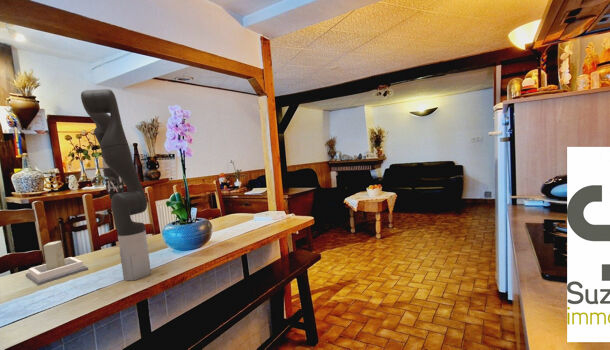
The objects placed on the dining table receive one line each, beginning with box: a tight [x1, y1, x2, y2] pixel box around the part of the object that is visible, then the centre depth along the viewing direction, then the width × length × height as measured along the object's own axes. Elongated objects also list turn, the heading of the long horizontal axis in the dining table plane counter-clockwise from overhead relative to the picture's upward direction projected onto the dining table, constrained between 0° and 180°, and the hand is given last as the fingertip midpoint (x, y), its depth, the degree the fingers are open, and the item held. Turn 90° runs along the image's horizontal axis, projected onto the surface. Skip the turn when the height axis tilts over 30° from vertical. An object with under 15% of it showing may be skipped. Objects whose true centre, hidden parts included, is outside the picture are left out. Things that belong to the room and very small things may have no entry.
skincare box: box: [42, 240, 65, 271], centre depth 119 cm, size 6×4×12 cm
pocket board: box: [25, 256, 89, 286], centre depth 119 cm, size 20×16×4 cm
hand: (116, 199), depth 138 cm, fingers open, 8 cm apart
